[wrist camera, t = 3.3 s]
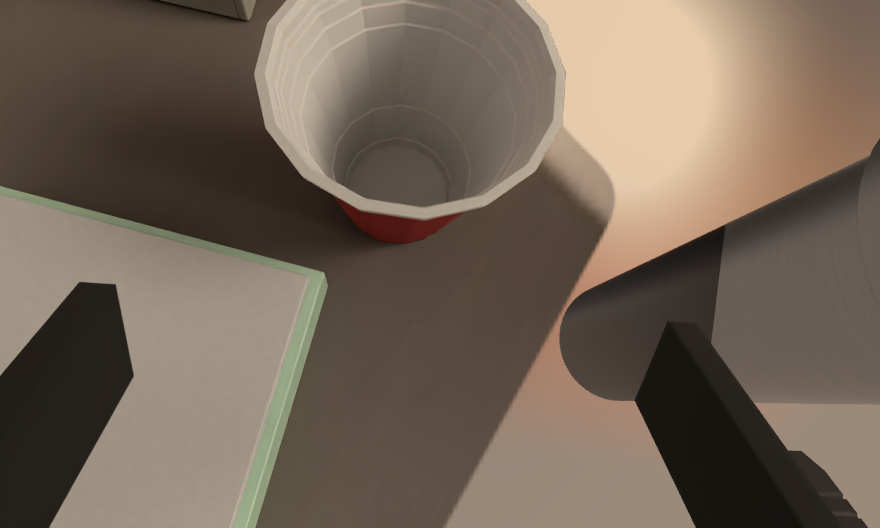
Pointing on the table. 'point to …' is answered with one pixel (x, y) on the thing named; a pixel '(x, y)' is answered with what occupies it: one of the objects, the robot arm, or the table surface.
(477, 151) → the plastic cup
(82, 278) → the kitchen scale
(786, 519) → the robot arm
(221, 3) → the digital clock
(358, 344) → the table surface
